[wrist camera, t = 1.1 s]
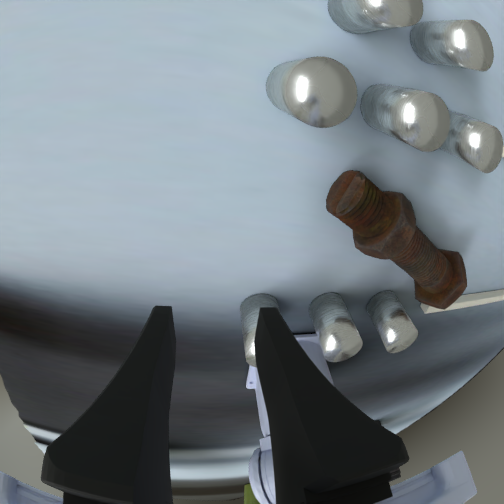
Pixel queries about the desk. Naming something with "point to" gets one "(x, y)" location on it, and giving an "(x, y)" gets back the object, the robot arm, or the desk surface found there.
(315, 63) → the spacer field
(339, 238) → the desk surface
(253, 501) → the plant pot
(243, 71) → the desk surface
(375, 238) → the bolt
